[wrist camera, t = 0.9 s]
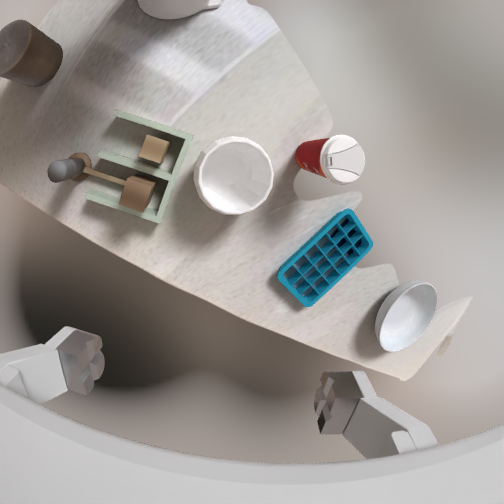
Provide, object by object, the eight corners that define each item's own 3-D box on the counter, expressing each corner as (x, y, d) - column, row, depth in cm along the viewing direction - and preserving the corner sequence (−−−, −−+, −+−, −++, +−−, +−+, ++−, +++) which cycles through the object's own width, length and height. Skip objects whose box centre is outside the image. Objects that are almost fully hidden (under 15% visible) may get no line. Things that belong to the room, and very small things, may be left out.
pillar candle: (66, 36, 33) (34, 8, 20) (59, 81, 37) (21, 64, 23) (26, 48, 31) (-12, 28, 18) (19, 92, 35) (-24, 81, 21)
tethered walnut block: (72, 149, 42) (48, 151, 32) (158, 178, 48) (152, 185, 38) (64, 176, 43) (39, 183, 34) (148, 204, 49) (140, 218, 39)
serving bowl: (355, 342, 72) (368, 357, 66) (380, 270, 66) (397, 282, 60) (407, 336, 78) (420, 348, 71) (431, 273, 71) (447, 283, 65)
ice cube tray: (270, 270, 59) (274, 276, 56) (341, 202, 58) (349, 205, 55) (302, 302, 64) (307, 309, 61) (367, 240, 62) (374, 245, 60)
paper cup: (291, 177, 53) (325, 188, 40) (288, 137, 50) (321, 135, 38) (328, 173, 54) (369, 183, 42) (325, 135, 52) (367, 134, 39)
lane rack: (120, 112, 42) (115, 109, 38) (193, 136, 47) (193, 135, 43) (91, 194, 46) (84, 198, 42) (161, 218, 50) (160, 223, 47)
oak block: (152, 136, 45) (147, 134, 39) (170, 142, 46) (168, 141, 40) (144, 155, 46) (138, 156, 39) (163, 161, 47) (159, 163, 41)
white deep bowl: (241, 125, 48) (254, 121, 39) (272, 185, 53) (290, 193, 44) (179, 160, 48) (178, 162, 39) (214, 218, 53) (220, 233, 44)
